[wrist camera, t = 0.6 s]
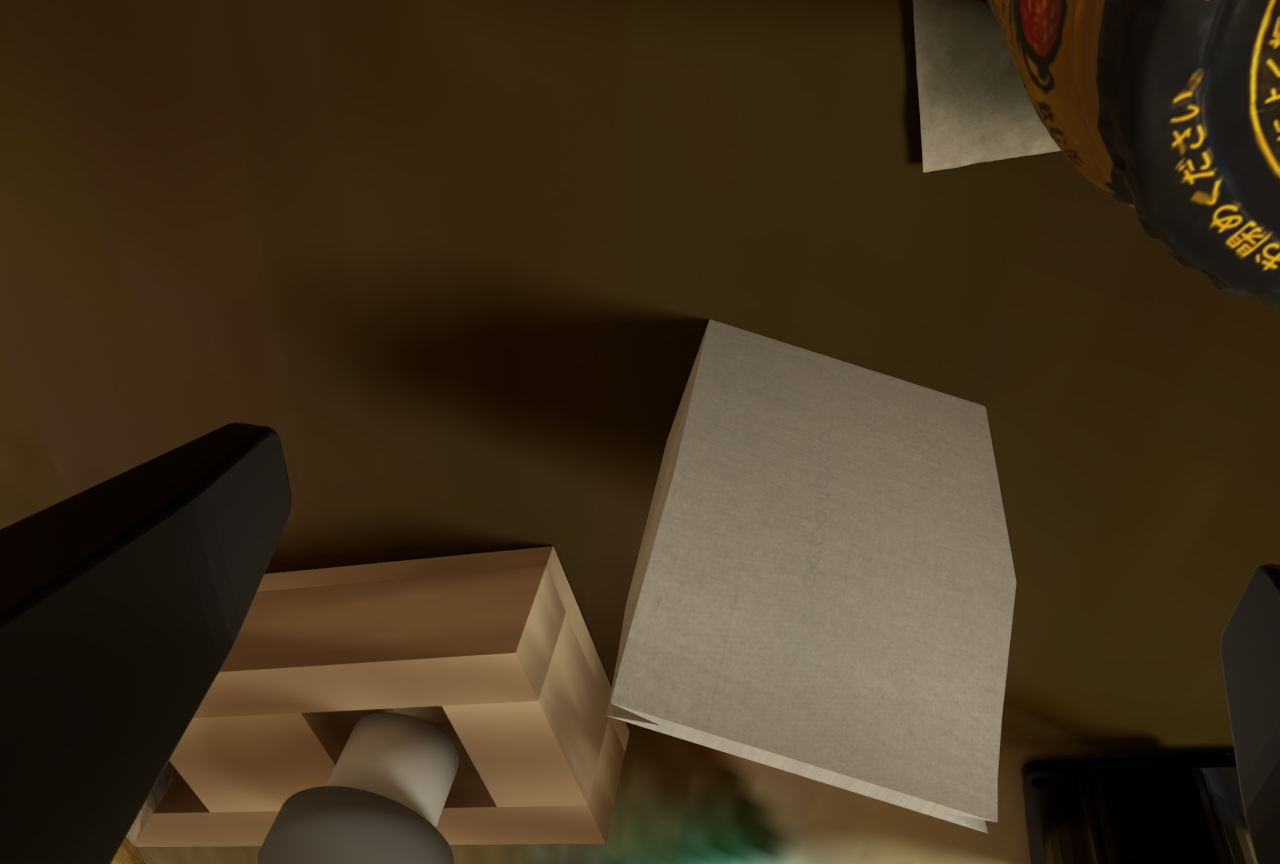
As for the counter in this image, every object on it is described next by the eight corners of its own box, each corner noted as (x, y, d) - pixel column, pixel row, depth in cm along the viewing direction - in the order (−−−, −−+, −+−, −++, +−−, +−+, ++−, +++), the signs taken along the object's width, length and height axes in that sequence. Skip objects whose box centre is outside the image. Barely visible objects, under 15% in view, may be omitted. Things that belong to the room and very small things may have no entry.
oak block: (629, 731, 33) (605, 843, 30) (127, 752, 39) (62, 847, 36) (553, 545, 29) (515, 652, 26) (2, 599, 35) (-84, 692, 32)
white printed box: (709, 318, 24) (636, 636, 16) (985, 406, 24) (1047, 763, 16) (667, 438, 26) (585, 769, 18) (920, 517, 26) (947, 881, 18)
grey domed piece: (509, 799, 30) (466, 938, 27) (366, 802, 32) (308, 934, 28) (450, 688, 28) (394, 827, 24) (297, 697, 29) (224, 829, 26)
